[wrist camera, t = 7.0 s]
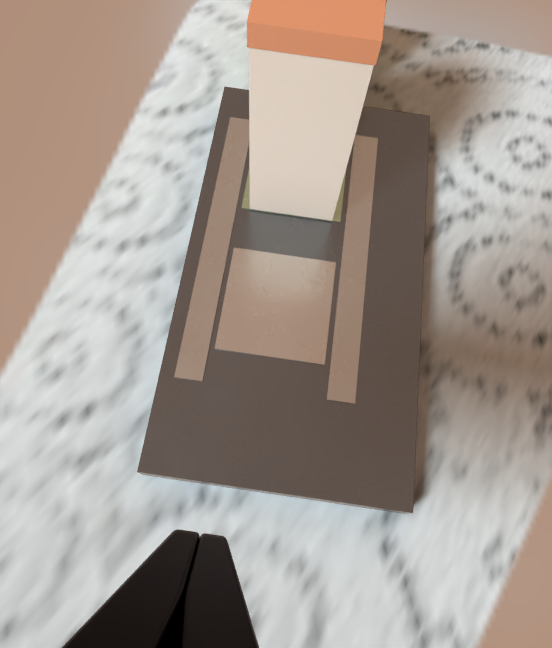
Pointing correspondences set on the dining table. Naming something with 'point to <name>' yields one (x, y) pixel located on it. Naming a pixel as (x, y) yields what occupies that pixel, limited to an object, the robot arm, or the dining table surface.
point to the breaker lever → (307, 98)
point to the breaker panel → (299, 328)
